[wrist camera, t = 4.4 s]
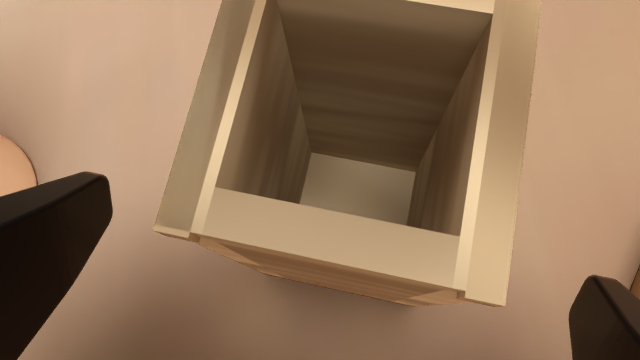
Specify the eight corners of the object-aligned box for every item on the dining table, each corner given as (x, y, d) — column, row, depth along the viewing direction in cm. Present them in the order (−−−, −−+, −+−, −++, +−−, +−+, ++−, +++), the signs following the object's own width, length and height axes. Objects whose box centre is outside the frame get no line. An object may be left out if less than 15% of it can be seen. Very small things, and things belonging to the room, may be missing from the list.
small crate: (412, 309, 18) (505, 306, 7) (264, 276, 19) (152, 230, 8) (437, 160, 19) (545, -24, 9) (298, 134, 20) (242, -67, 9)
